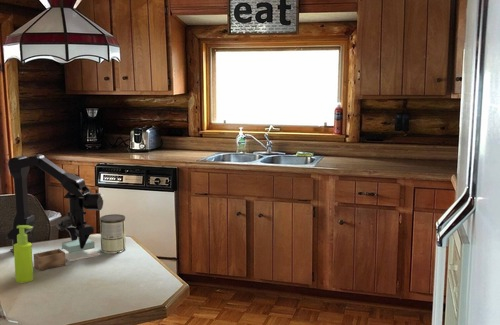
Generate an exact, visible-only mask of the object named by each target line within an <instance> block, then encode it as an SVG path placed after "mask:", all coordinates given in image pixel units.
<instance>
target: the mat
mask: <svg viewBox="0 0 500 325" xmlns="http://www.w3.org/2000/svg"><path fill="white" fill-rule="evenodd" d="M62 251H63V250H62ZM63 252H65V260H66V261H67V262H68V263H69V262H74V261H78V260H83V259H87V258H92V257H93V258H94V257H97V256H100V255H101V253H100V252H98V251H96V250H94V248H93V249H88V250H83V251H78V252H73V253H69V252H68V251H67V250H64V251H63Z"/></svg>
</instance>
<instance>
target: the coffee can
mask: <svg viewBox="0 0 500 325" xmlns="http://www.w3.org/2000/svg"><path fill="white" fill-rule="evenodd" d="M99 221H100V222H99V223H100V227H99V228H100V251H101V252H102V253H104V254H110V253H111V254H118V253H117V252H120V251H123V250H124V249H125V248H126V247H127V246H126V245H127V244H126V216H125V215H123V214H120V213H119V214H118V213H117V214H116V213H113V214H105V215H102V216H100V217H99ZM126 249H127V248H126ZM123 252H124V251H123ZM120 253H121V252H120Z"/></svg>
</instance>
